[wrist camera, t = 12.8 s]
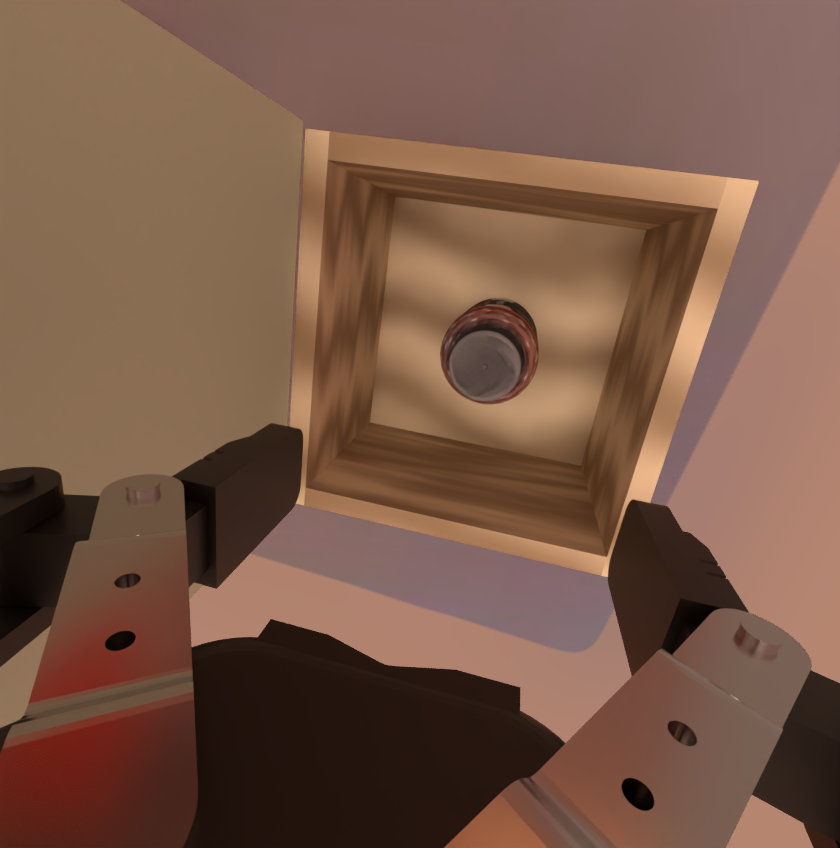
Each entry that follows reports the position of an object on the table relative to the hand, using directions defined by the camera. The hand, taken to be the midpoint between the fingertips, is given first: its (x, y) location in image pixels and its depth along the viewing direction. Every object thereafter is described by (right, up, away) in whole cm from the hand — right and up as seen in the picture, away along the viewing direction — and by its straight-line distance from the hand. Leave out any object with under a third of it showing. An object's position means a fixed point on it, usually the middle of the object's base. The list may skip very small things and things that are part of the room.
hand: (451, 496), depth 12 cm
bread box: (+5, +9, +26) cm, 28 cm away
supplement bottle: (+5, +8, +25) cm, 27 cm away
